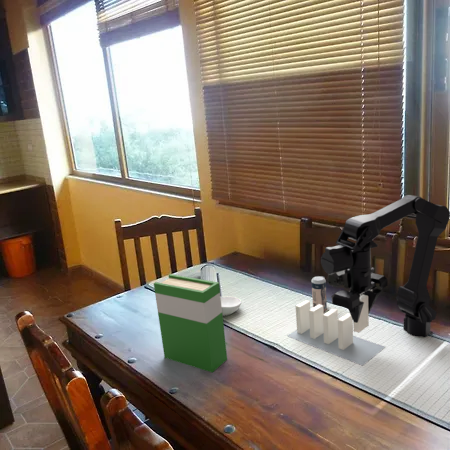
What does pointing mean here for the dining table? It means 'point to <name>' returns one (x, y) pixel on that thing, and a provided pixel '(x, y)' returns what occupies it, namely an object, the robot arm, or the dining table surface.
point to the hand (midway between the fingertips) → (361, 318)
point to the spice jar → (319, 291)
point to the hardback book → (191, 321)
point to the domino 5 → (362, 316)
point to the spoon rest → (229, 304)
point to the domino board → (355, 352)
